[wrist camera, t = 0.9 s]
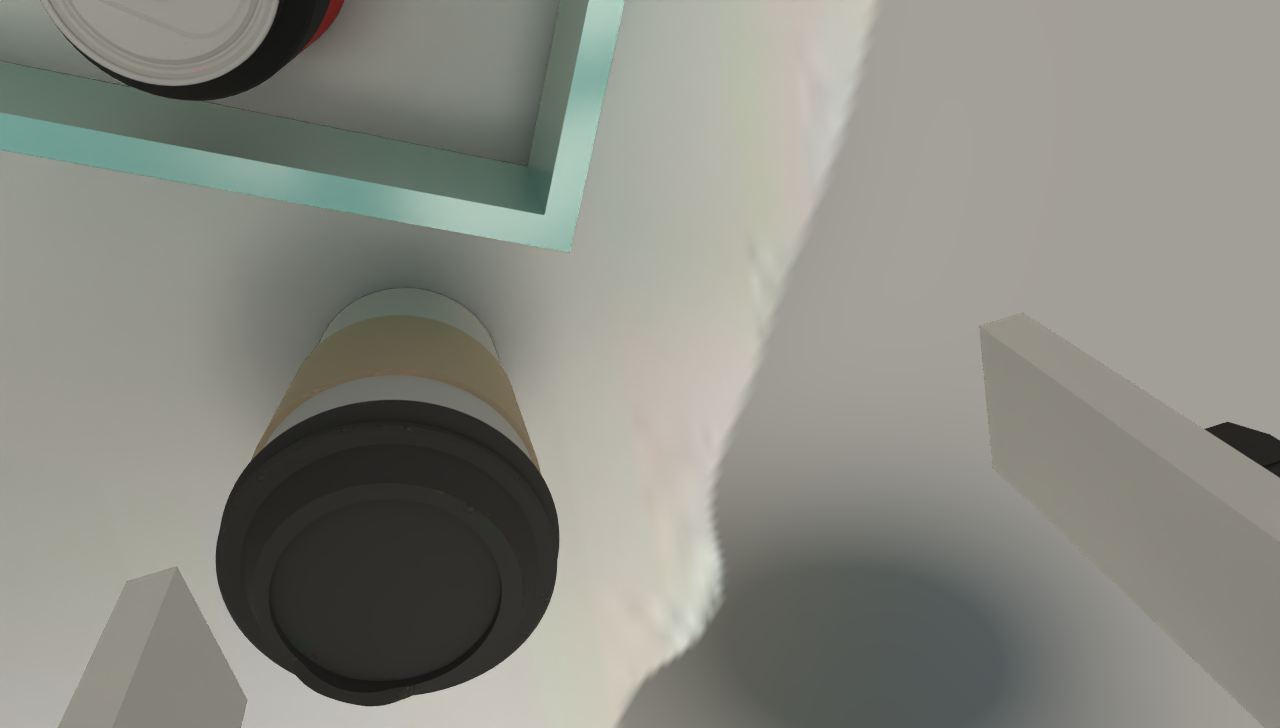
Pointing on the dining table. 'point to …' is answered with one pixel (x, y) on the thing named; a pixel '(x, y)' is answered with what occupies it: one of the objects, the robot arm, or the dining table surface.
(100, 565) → the dining table surface
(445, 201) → the teal open box
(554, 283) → the dining table surface
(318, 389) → the coffee cup
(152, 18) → the beverage can
